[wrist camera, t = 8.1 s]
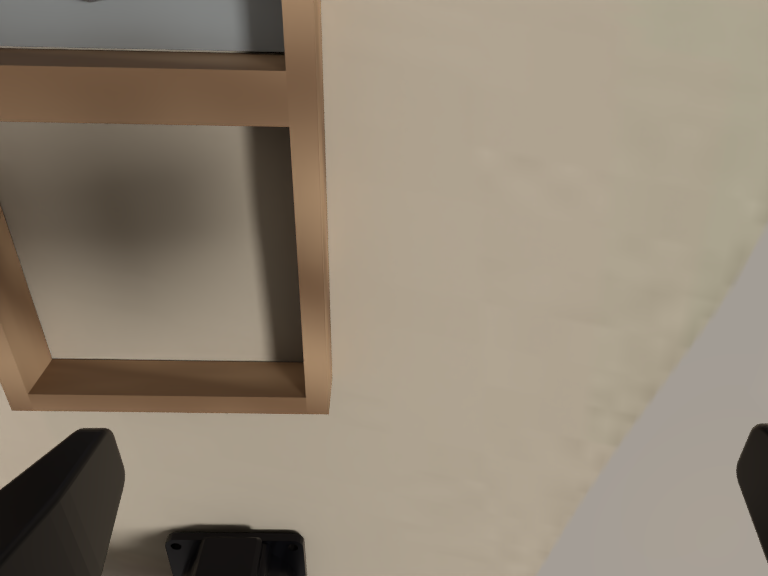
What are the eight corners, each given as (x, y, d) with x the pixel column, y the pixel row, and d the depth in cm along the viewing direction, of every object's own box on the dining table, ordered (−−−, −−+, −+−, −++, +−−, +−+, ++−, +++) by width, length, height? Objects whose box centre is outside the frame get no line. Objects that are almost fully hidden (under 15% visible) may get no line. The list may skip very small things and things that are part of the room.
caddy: (332, 378, 25) (328, 414, 23) (37, 374, 25) (11, 410, 23) (304, -512, 12) (293, -576, 11) (-289, -533, 12) (-396, -600, 11)
